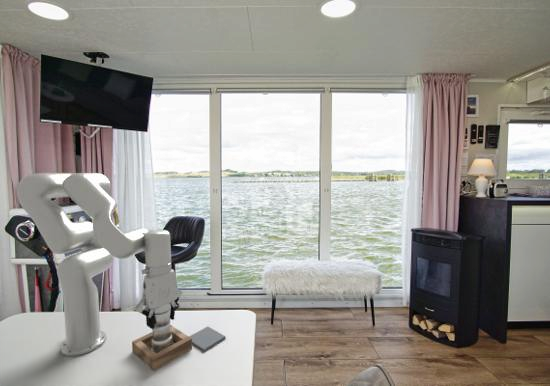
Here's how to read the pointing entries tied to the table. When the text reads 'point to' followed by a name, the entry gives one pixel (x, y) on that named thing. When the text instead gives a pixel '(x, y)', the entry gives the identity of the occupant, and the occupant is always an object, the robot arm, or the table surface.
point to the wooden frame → (164, 356)
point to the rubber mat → (206, 338)
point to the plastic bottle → (161, 328)
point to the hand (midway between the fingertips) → (161, 322)
